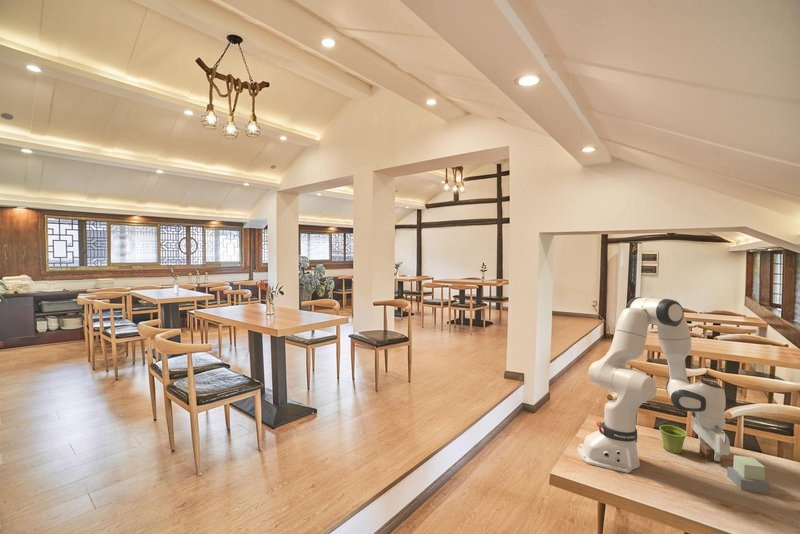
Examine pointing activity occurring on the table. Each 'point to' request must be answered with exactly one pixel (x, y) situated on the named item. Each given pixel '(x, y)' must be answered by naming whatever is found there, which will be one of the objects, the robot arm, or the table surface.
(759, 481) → the base slab
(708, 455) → the walnut cube
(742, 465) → the tower cube
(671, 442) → the plant pot
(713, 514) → the table surface
